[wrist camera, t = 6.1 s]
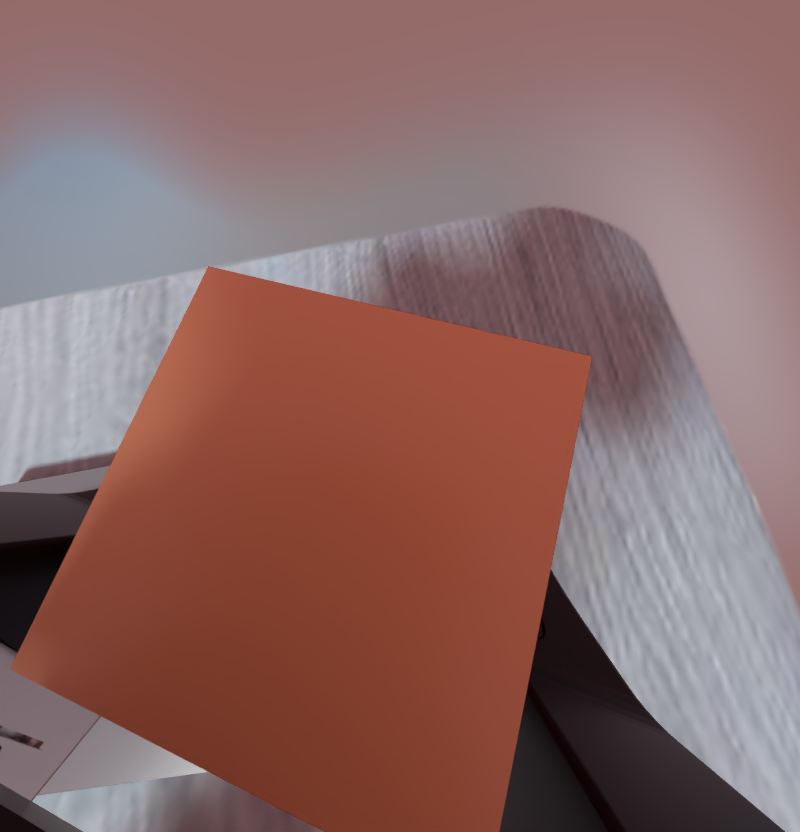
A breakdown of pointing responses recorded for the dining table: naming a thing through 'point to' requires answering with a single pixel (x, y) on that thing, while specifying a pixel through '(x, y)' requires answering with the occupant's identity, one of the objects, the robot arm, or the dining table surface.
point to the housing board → (106, 741)
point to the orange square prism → (324, 556)
